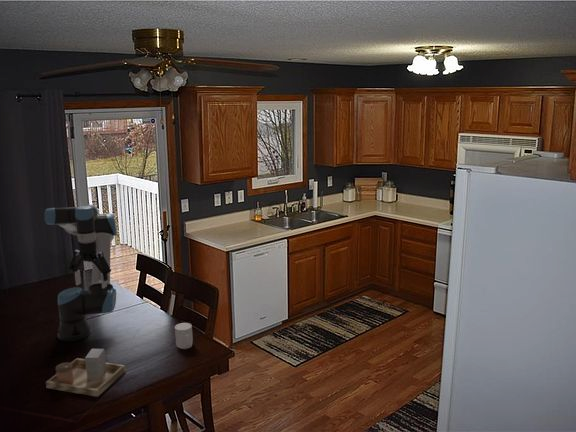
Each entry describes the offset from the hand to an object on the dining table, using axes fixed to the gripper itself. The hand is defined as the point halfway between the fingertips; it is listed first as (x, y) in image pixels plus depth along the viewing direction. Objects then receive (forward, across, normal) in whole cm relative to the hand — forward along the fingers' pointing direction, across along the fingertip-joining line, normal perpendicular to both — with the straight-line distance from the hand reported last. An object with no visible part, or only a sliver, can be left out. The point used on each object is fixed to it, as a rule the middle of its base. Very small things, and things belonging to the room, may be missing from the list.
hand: (91, 285), depth 242 cm
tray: (+32, +12, -25) cm, 42 cm away
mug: (+32, +38, +14) cm, 52 cm away
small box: (+31, +14, -21) cm, 40 cm away
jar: (+31, +6, -30) cm, 43 cm away
